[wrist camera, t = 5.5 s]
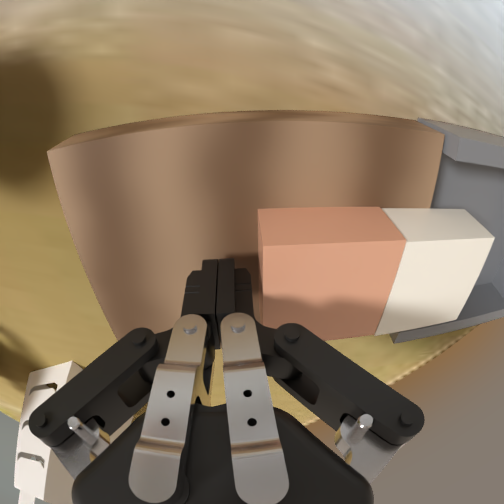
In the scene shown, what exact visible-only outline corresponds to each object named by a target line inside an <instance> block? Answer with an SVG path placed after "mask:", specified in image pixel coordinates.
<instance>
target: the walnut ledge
mask: <svg viewBox="0 0 504 504" xmlns="http://www.w3.org/2000/svg"><path fill="white" fill-rule="evenodd" d="M444 136H445V134H443V133H441V132H439V131H437V130H435V129H432V128H430V127H428V126H426V125H424V124H422V123H420V122H417V121H415V120H409V119H402V118H394V117H386V116H378V115H368V114H357V113H344V112H327V111H297V110H268V111H237V112H220V113H207V114H196V115H186V116H177V117H169V118H161V119H154V120H147V121H141V122H134V123H129V124H123V125H118V126H112V127H107V128H102V129H98V130H93V131H88V132H84V133H80V134H76V135H73V136H71V137H70V138H68V139H66V140H65V141H63V142H61V143H60V144H58V145H56V146H55V147H53V148H51V149H50V150H48V151H47V155H48V159H49V163H50V167H51V171H52V175H53V179H54V182H55V186H56V189H57V193H58V196H59V200H60V203H61V206H62V209H63V212H64V216H65V219H66V222H67V225H68V227H69V230H70V233H71V236H72V239H73V241H74V244H75V247H76V250H77V252H78V255H79V257H80V260H81V262H82V265H83V267H84V270H85V272H86V275H87V277H88V279H89V282H90V284H91V286H92V289H93V291H94V293H95V295H96V298H97V300H98V302H99V304H100V306H101V308H102V310H103V313H104V315H105V317H106V319H107V321H108V323H109V325H110V327H111V329H112V331H113V333H114V335H115V336H116V338H117V340H118V341H119V340H120V339H121V338H122V337H124V336H125V335H126V334H127V333H129V332H130V331H131V330H133V329H136V328H141V327H144V328H148V329H150V330H152V331H153V332H154V334H156V333H160V332H164V331H167V330H169V329H171V328H173V326H174V324H175V322H176V321H177V320H178V319H179V318H180V317H181V311H182V305H183V298H184V294H185V287H186V281H187V277H188V276H189V275H190V273H191V272H192V271H196V270H201V269H202V261H203V260H205V259H218V260H219V259H224V258H234V260H235V269H236V268H246V269H247V270H248V272H249V273H250V274H251V284H252V297H253V309H254V316H255V319H256V320H257V321H258V322H259V323H260V324H261V322H260V311H259V270H258V209H268V208H301V207H380V208H429V209H430V206H431V202H432V198H433V193H434V189H435V185H436V180H437V175H438V170H439V165H440V160H441V155H442V149H443V143H444ZM221 348H222V346H221Z"/></svg>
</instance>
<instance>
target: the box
mask: <svg viewBox="0 0 504 504" xmlns="http://www.w3.org/2000/svg"><path fill="white" fill-rule="evenodd" d="M418 122H420V123H422V124H424V125H426V126H428V127H430V128H432V129H435V130H437V131H439V132H441V133H443V134H445V136H444V143H443V149H442V155H441V160H440V165H439V170H438V175H437V180H436V185H435V189H434V193H433V198H432V202H431V206H430V209H465V210H466V211H467V212H468V213H469V214H471V215H472V216H473V217H474V218H475V219H476V220H477V221H478V222H479V223H480V224H481V225H482V226H484V227H485V228H486V229H487V230H488V231H489V232H490V233H491V234H492V235H493V236H494V237H495V239H494V241H493V244H492V246H491V249H490V251H489V254H488V256H487V258H486V261H485V263H484V265H483V267H482V270H481V272H480V274H479V276H478V278H477V281H476V283H475V285H474V287H473V289H472V291H471V293H470V295H469V297H468V299H467V301H466V303H465V305H464V306H463V308H462V310H461V312H460V314H459V316H458V317H457V319H456V320H453V321H448V322H444V323H439V324H435V325H430V326H425V327H421V328H416V329H410V330H405V331H400V332H394V333H389V334H390V336H391V338H392V341H393V343H394V344H395V343H400V342H405V341H410V340H415V339H420V338H425V337H429V336H434V335H438V334H443V333H447V332H451V331H455V330H459V329H463V328H467V327H471V326H474V325H478V324H482V323H485V322H489V321H492V320H495V319H499V318H502V317H504V137H501V136H498V135H494V134H491V133H487V132H483V131H480V130H476V129H472V128H467V127H463V126H459V125H454V124H449V123H445V122H440V121H434V120H429V119H423V118H418Z"/></svg>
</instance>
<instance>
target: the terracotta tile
mask: <svg viewBox="0 0 504 504" xmlns="http://www.w3.org/2000/svg"><path fill="white" fill-rule="evenodd" d="M405 244H406V239H405V238H404V236H403V235H402V234H401V232H400V231H399V230H398V229H397V227H396V226H395V225H394V224H393V222H392V221H391V220H390V219H389V217H388V216H387V215H386V214H385V213H384V211H383V210H382V209H381V208H380V207H301V208H268V209H258V270H259V311H260V322H261V324H262V325H263V326H266V327H269V328H274V329H277V328H278V327H279V326H281V325H283V324H286V323H297V324H300V325H302V326H304V327H305V328H306V329H308V330H309V331H311V332H312V333H313V334H315V335H316V336H318V337H319V338H320V339H322V340H323V341H326V340H336V339H344V338H352V337H360V336H367V335H374V334H375V331H376V329H377V326H378V324H379V321H380V319H381V316H382V313H383V311H384V308H385V305H386V302H387V300H388V297H389V294H390V291H391V288H392V285H393V282H394V279H395V276H396V273H397V270H398V267H399V264H400V261H401V257H402V254H403V251H404V247H405Z"/></svg>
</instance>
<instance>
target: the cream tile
mask: <svg viewBox="0 0 504 504" xmlns="http://www.w3.org/2000/svg"><path fill="white" fill-rule="evenodd" d="M381 209H382V210H383V211H384V213H385V214H386V215H387V216H388V217H389V219H390V220H391V221H392V222H393V224H394V225H395V226H396V227H397V229H398V230H399V231H400V232H401V234H402V235H403V236H404V238H405V239H406V244H405V247H404V251H403V254H402V257H401V261H400V264H399V267H398V270H397V273H396V276H395V279H394V282H393V285H392V288H391V291H390V294H389V297H388V300H387V302H386V305H385V308H384V311H383V313H382V316H381V319H380V321H379V324H378V326H377V329H376V331H375V334H374V335H375V336H377V335H383V334H389V333H394V332H400V331H405V330H410V329H416V328H421V327H425V326H430V325H435V324H439V323H444V322H448V321H453V320H456V319H457V317H458V316H459V314H460V312H461V310H462V308H463V306H464V305H465V303H466V301H467V299H468V297H469V295H470V293H471V291H472V289H473V287H474V285H475V283H476V281H477V278H478V276H479V274H480V272H481V270H482V267H483V265H484V263H485V261H486V258H487V256H488V254H489V251H490V249H491V246H492V244H493V241H494V239H495V237H494V236H493V235H492V234H491V233H490V232H489V231H488V230H487V229H486V228H485V227H484V226H482V225H481V224H480V223H479V222H478V221H477V220H476V219H475V218H474V217H473V216H472V215H471V214H469V213H468V212H467V211H466V210H465V209H429V208H381Z"/></svg>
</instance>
